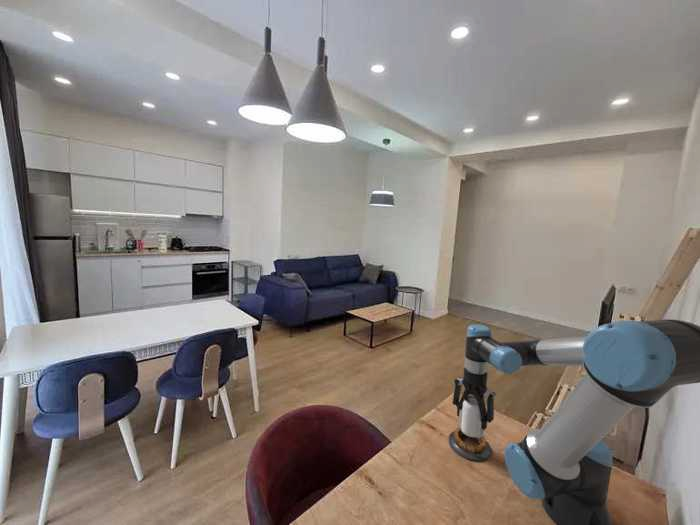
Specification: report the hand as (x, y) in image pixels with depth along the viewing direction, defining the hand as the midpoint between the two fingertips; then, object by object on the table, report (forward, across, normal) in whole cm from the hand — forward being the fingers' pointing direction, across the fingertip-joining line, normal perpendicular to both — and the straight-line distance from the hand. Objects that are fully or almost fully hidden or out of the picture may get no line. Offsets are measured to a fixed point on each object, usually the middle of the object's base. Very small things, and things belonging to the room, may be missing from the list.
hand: (470, 430), depth 103 cm
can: (+1, 0, 0) cm, 1 cm away
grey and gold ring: (+6, 0, 0) cm, 6 cm away
